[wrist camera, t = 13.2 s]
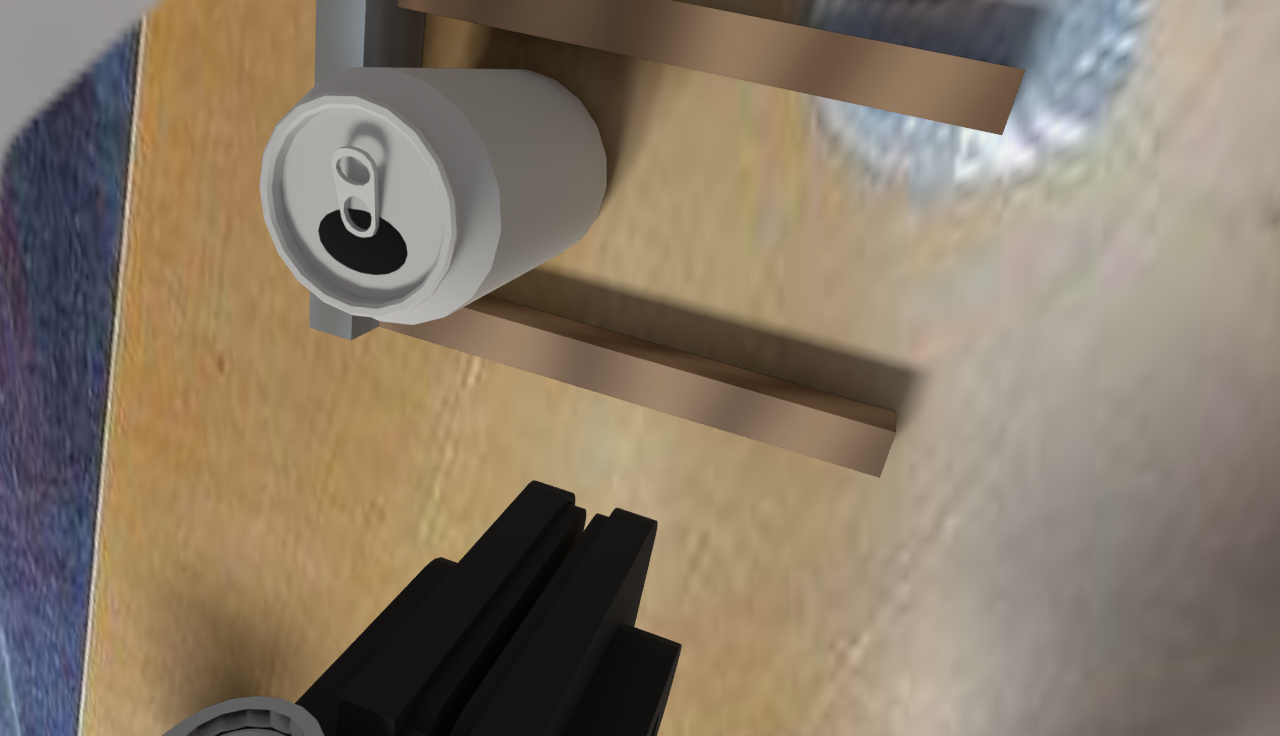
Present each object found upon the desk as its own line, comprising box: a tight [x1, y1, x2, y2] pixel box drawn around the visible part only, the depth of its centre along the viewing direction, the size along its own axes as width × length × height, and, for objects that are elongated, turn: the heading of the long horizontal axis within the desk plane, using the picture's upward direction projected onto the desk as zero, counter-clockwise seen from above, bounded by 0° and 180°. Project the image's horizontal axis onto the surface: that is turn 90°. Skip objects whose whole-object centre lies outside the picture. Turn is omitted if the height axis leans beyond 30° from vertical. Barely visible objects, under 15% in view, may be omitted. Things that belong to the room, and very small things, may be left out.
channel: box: [310, 0, 1025, 478], centre depth 30 cm, size 24×15×4 cm, turn 80°
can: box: [259, 67, 607, 325], centre depth 27 cm, size 8×8×12 cm
